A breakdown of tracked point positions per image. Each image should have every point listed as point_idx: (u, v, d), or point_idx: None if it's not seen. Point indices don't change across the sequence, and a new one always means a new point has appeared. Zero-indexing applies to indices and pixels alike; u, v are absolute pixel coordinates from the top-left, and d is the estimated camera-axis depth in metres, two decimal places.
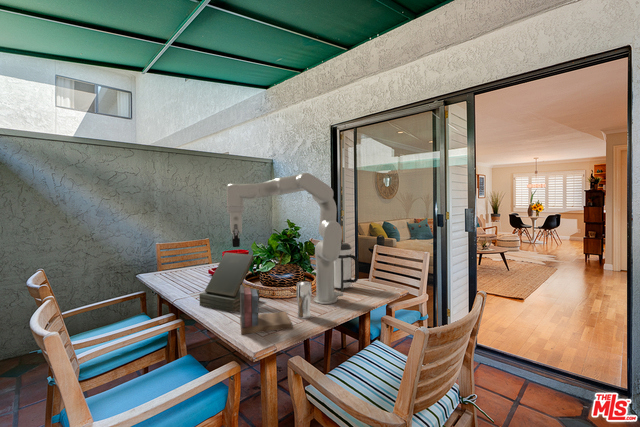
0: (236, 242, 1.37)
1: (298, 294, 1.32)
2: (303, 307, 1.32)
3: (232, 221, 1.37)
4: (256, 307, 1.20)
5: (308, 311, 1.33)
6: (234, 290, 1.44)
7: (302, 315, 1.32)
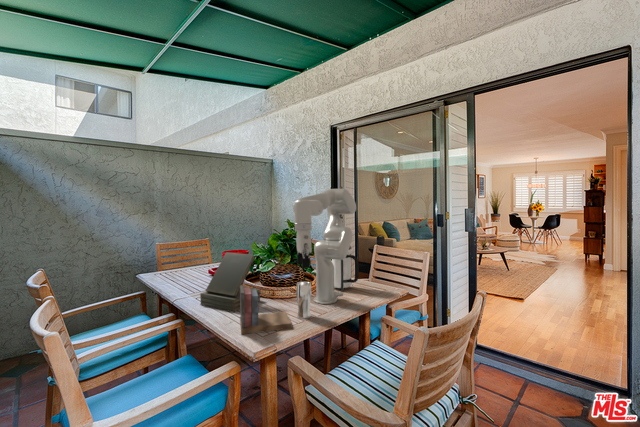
0: (306, 262, 1.28)
1: (298, 294, 1.32)
2: (303, 307, 1.32)
3: (302, 240, 1.29)
4: (256, 307, 1.20)
5: (308, 311, 1.33)
6: (235, 290, 1.45)
7: (302, 315, 1.32)
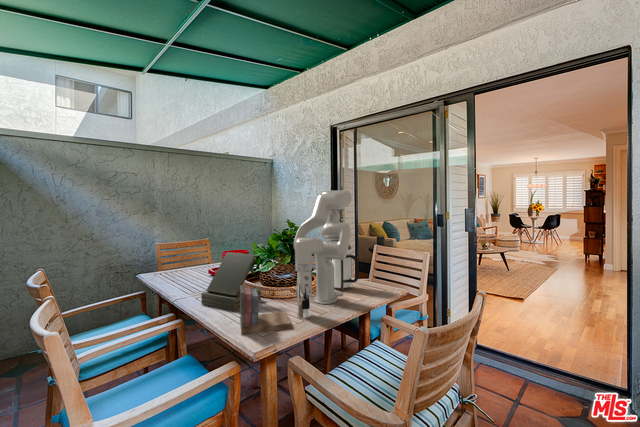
0: (306, 304, 1.30)
1: (298, 294, 1.32)
2: None
3: (303, 281, 1.29)
4: (256, 307, 1.20)
5: (308, 311, 1.33)
6: (236, 289, 1.45)
7: (302, 315, 1.32)
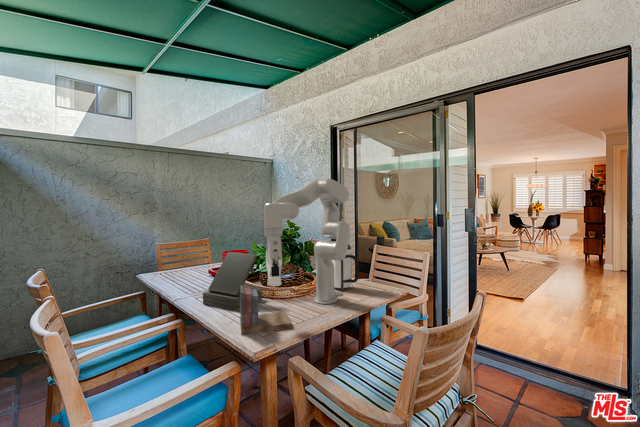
0: (275, 271, 1.22)
1: (267, 260, 1.24)
2: None
3: (271, 246, 1.21)
4: (256, 307, 1.20)
5: (278, 279, 1.25)
6: (237, 289, 1.46)
7: (271, 283, 1.24)
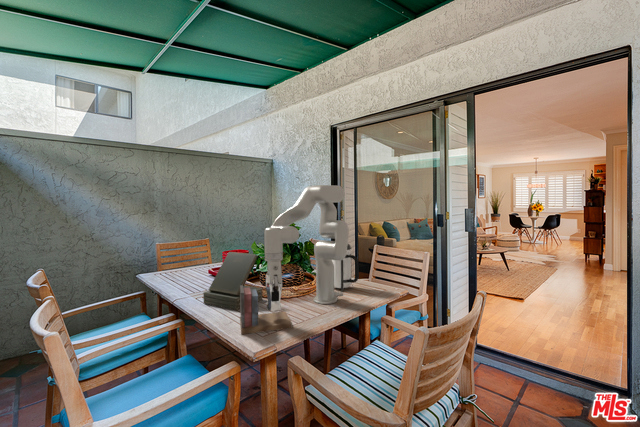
0: (275, 296, 1.22)
1: (267, 285, 1.24)
2: None
3: (271, 271, 1.21)
4: (256, 307, 1.20)
5: (278, 303, 1.25)
6: (237, 289, 1.46)
7: (271, 307, 1.24)
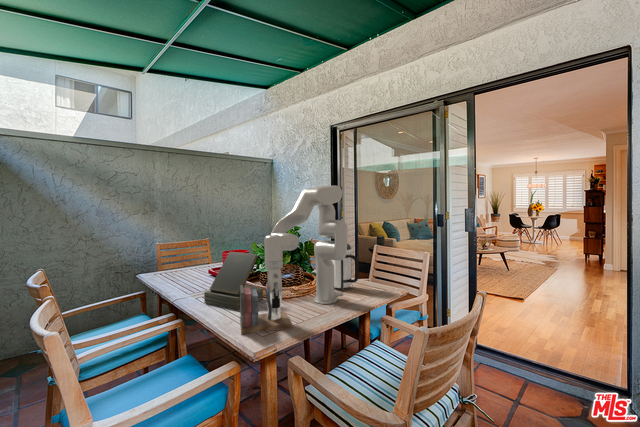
0: (276, 303, 1.21)
1: (267, 295, 1.24)
2: (272, 309, 1.24)
3: (272, 279, 1.21)
4: (256, 307, 1.20)
5: (278, 313, 1.25)
6: (238, 288, 1.47)
7: (271, 317, 1.24)
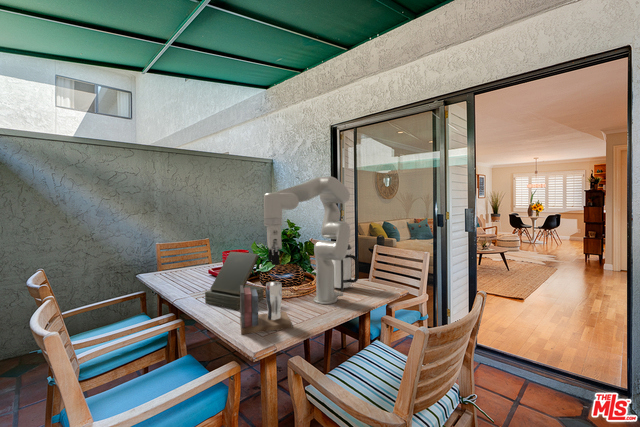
0: (276, 259, 1.21)
1: (267, 295, 1.24)
2: (272, 309, 1.24)
3: (271, 235, 1.21)
4: (256, 307, 1.20)
5: (278, 313, 1.26)
6: (239, 288, 1.47)
7: (271, 317, 1.24)
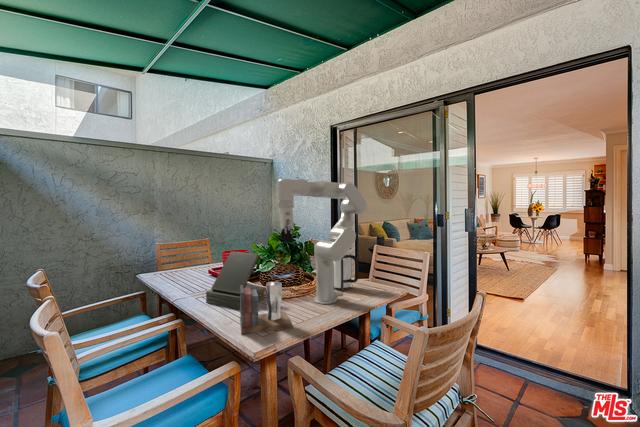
0: (288, 237, 1.36)
1: (267, 295, 1.24)
2: (272, 309, 1.24)
3: (284, 216, 1.36)
4: (256, 307, 1.20)
5: (278, 313, 1.26)
6: None
7: (271, 317, 1.24)
